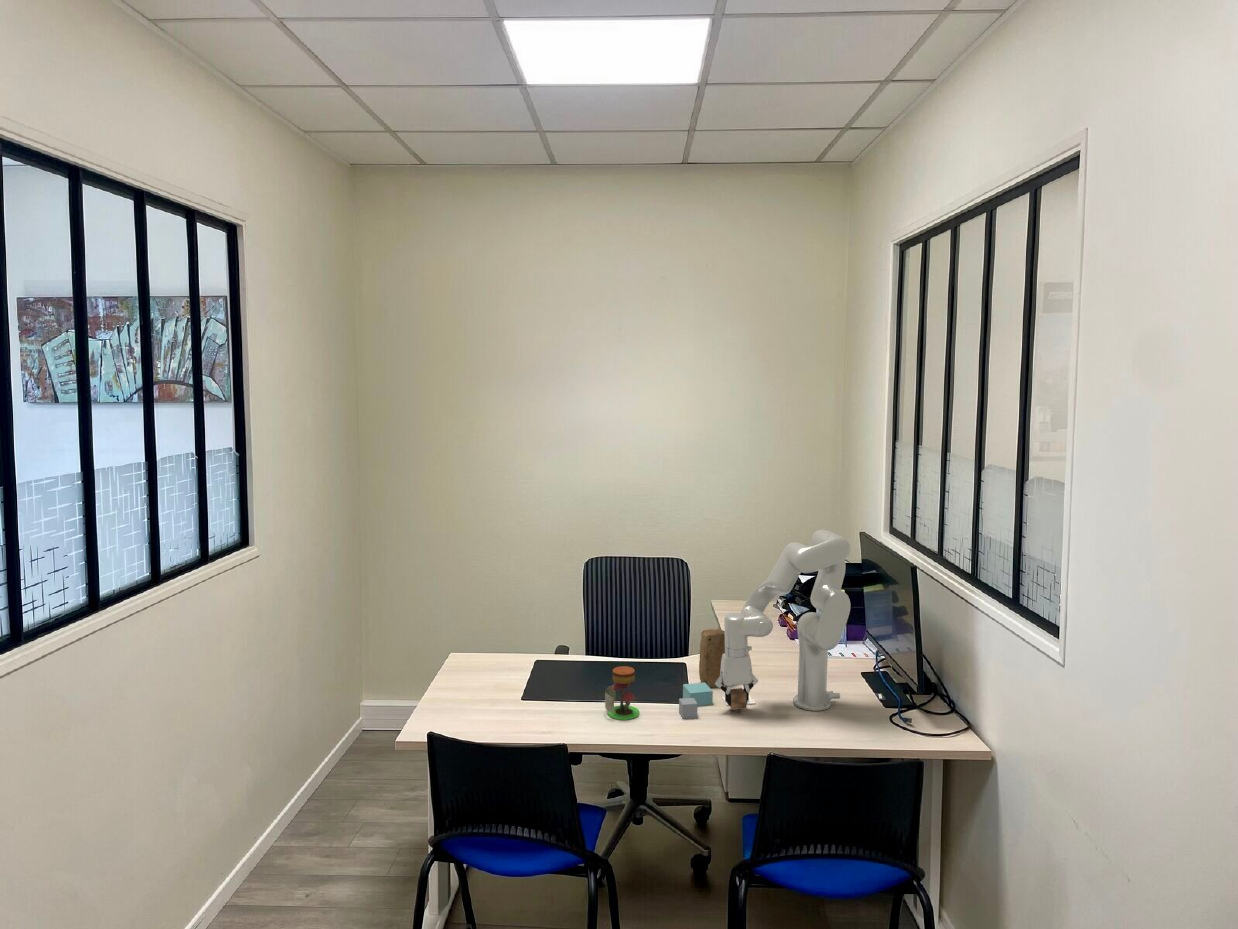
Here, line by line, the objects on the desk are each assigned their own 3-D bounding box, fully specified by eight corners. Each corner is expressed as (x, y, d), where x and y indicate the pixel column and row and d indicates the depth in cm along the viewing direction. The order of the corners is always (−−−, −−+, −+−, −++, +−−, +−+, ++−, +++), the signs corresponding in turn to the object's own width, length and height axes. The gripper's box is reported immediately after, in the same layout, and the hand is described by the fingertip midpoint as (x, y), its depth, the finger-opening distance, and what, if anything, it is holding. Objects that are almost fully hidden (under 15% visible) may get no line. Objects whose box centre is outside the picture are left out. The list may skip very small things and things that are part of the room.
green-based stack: (636, 704, 282) (636, 661, 281) (644, 719, 270) (644, 675, 268) (602, 706, 280) (602, 663, 279) (608, 722, 268) (608, 677, 266)
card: (749, 696, 290) (749, 694, 290) (755, 704, 283) (755, 702, 283) (721, 697, 288) (721, 696, 288) (727, 706, 281) (727, 704, 281)
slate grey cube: (693, 712, 276) (693, 697, 276) (697, 718, 272) (697, 703, 271) (678, 713, 276) (679, 698, 275) (682, 719, 271) (682, 704, 270)
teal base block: (704, 696, 290) (705, 682, 290) (712, 705, 282) (712, 691, 282) (682, 698, 288) (683, 684, 288) (690, 707, 281) (690, 693, 280)
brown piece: (703, 689, 296) (704, 634, 294) (697, 681, 303) (698, 628, 301) (732, 687, 298) (733, 633, 295) (726, 679, 305) (727, 626, 303)
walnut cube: (742, 702, 280) (741, 688, 279) (746, 708, 275) (746, 693, 274) (727, 703, 279) (727, 689, 278) (731, 709, 274) (731, 695, 274)
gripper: (757, 645, 280) (757, 696, 282) (708, 649, 277) (709, 701, 279) (764, 652, 272) (765, 705, 275) (714, 657, 270) (715, 710, 272)
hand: (736, 702), depth 277 cm, fingers closed on walnut cube, 5 cm apart
